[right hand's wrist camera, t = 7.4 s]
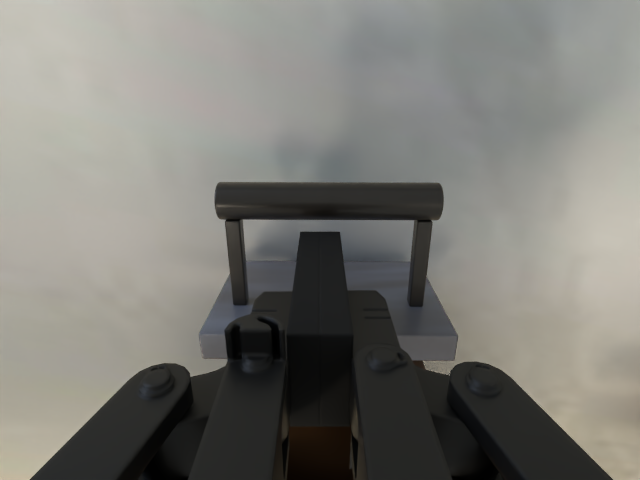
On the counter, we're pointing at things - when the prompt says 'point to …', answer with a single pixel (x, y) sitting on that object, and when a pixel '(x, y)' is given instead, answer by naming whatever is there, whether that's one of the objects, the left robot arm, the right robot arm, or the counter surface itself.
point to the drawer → (385, 277)
